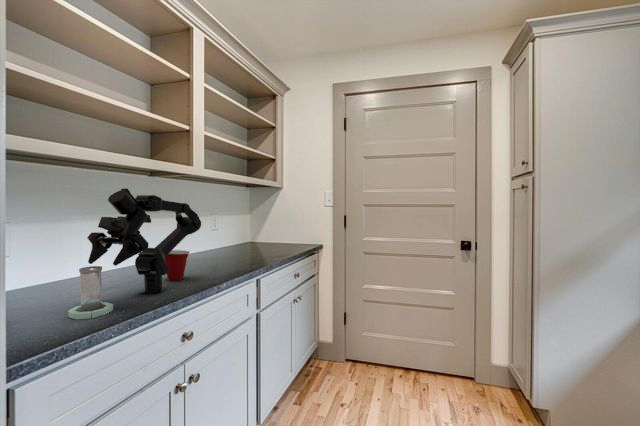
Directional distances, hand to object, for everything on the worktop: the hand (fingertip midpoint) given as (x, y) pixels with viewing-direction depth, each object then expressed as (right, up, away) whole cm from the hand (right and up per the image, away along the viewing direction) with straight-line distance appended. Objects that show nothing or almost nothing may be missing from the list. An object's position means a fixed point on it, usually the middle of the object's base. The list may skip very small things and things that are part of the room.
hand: (101, 264), depth 97 cm
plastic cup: (+5, -13, +38) cm, 41 cm away
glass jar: (-1, -14, -3) cm, 14 cm away
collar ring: (-1, -14, -3) cm, 14 cm away
